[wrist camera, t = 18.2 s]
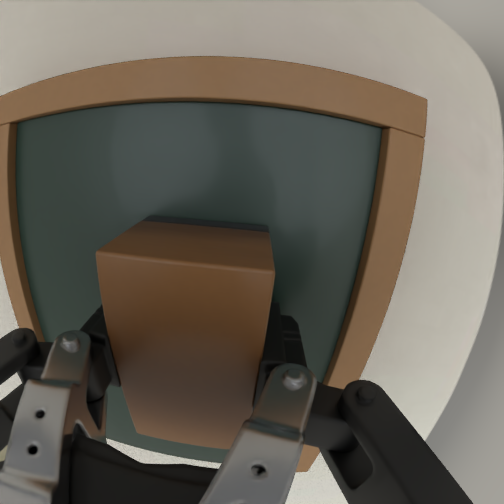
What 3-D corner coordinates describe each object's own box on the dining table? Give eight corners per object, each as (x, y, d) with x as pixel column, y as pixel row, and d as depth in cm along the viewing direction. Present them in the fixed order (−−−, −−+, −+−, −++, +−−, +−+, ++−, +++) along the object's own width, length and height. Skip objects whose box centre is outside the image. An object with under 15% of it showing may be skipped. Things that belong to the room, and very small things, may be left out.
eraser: (148, 215, 10) (93, 250, 6) (269, 225, 10) (276, 271, 6) (159, 372, 13) (136, 433, 9) (247, 384, 13) (245, 451, 9)
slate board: (18, 98, 9) (-4, 97, 7) (406, 104, 9) (428, 99, 8) (76, 415, 17) (68, 429, 15) (305, 453, 17) (307, 472, 16)
